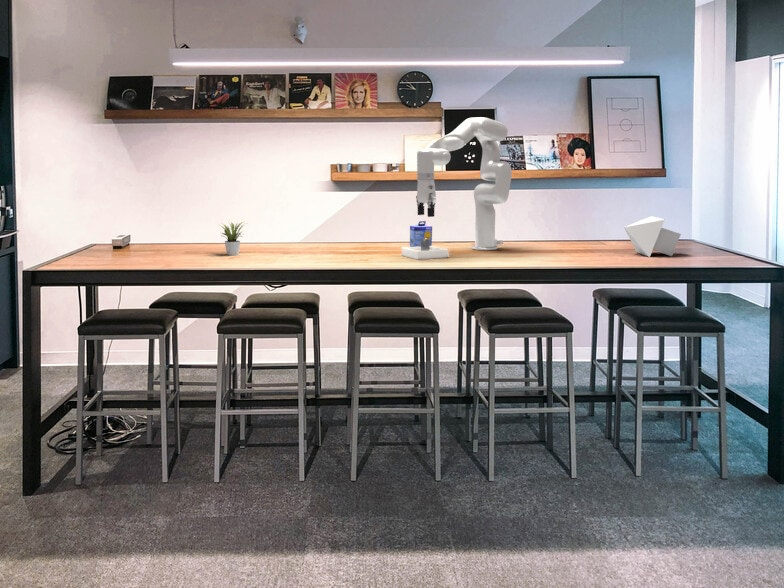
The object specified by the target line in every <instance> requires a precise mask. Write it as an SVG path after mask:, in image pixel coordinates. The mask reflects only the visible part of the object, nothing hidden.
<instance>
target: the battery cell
mask: <svg viewBox="0 0 784 588" xmlns="http://www.w3.org/2000/svg"><path fill="white" fill-rule="evenodd" d="M428 250H430V240H428V239H427V238H423V239H422V240H421V251H428Z"/></svg>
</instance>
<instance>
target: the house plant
mask: <svg viewBox="0 0 784 588" xmlns="http://www.w3.org/2000/svg"><path fill="white" fill-rule="evenodd" d="M229 221H230V220H229ZM245 224H248V223H247V222H245V223H244V221H242V222H240V223H235V224H234V223H233V222H232V221H230V222H229V225H230V227H229V226H228V225H225V224H224V223H222V225H223V226H222V225H220V224H219V226H221V228H222V229H224V233H223V232H221V234H222V237H224V238H225V239H226V240H224V245H225V251H226V255H227V256H238V255H239V253H240V245H241V240H237V239H238V238H239V237H240V236H241V237H242V238H244V236H242V235H245V234H243V232H244V230H243V231H240V230H241V229H242V228H243V227H244V226H245Z"/></svg>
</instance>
